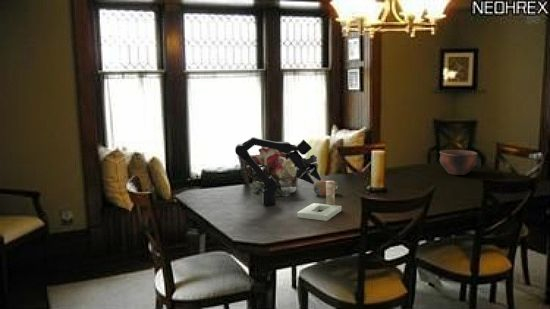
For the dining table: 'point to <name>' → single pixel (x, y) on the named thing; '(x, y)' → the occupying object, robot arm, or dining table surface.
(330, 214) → the keyhole plate
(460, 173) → the bowl
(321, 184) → the tin
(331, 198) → the peg
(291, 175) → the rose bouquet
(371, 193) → the dining table surface
